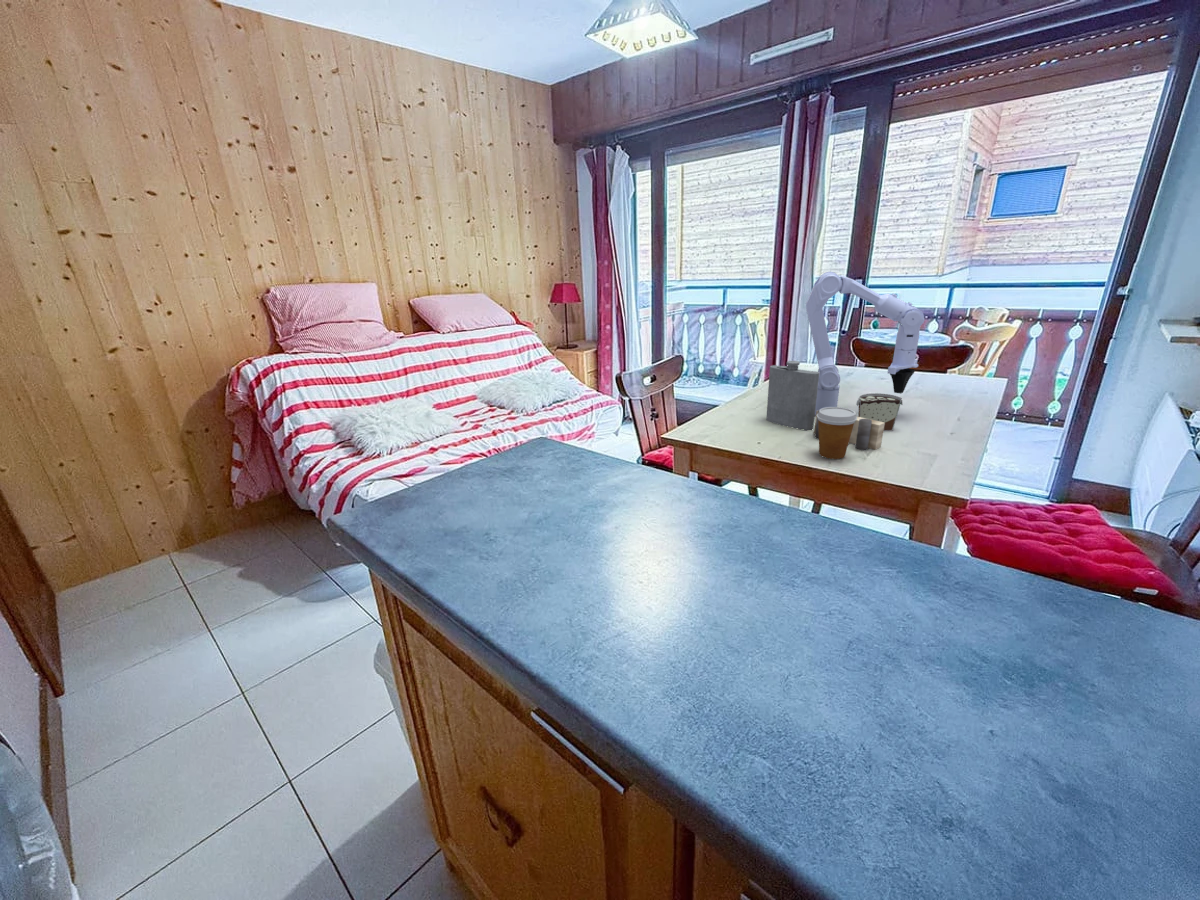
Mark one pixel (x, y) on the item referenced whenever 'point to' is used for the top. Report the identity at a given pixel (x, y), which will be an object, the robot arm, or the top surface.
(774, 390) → the hip flask
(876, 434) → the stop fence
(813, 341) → the robot arm
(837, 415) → the disposable coffee cup
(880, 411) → the food container
